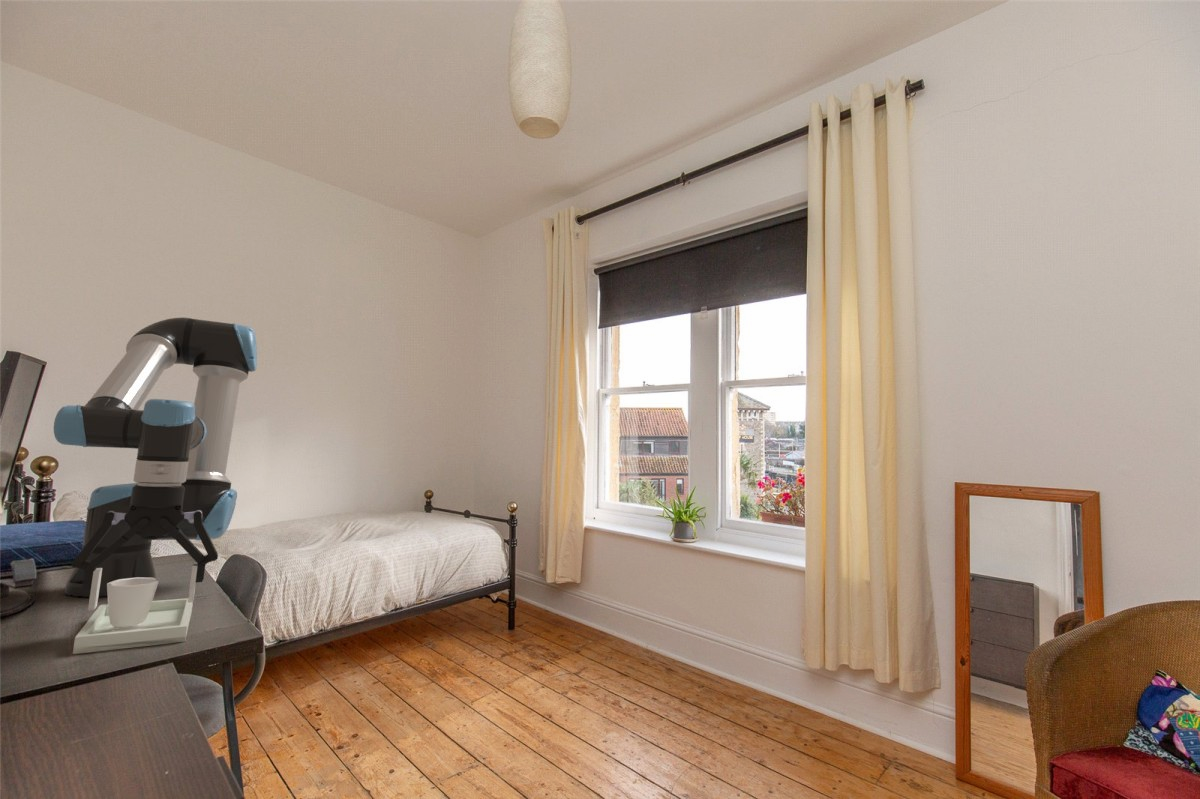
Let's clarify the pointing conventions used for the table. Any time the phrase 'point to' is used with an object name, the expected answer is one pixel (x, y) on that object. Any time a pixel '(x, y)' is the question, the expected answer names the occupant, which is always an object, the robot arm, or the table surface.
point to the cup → (130, 602)
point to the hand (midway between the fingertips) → (143, 604)
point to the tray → (158, 628)
